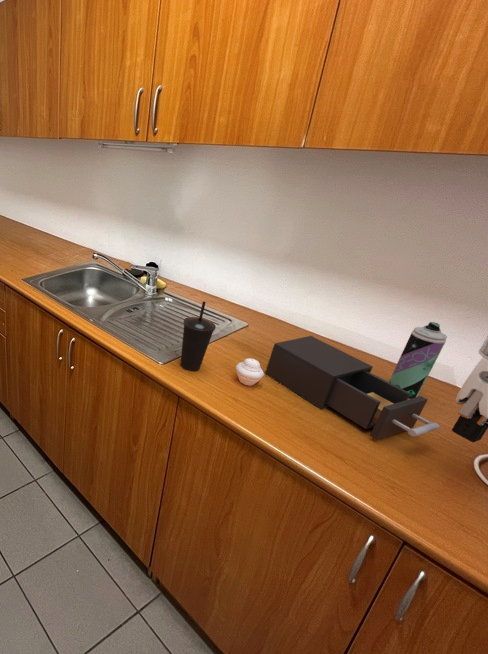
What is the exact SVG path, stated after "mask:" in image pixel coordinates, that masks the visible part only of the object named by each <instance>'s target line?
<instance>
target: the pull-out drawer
mask: <svg viewBox="0 0 488 654" xmlns="http://www.w3.org/2000/svg"><path fill="white" fill-rule="evenodd" d="M372 392H373V393H375V394H377V395H379V396H381V397H382V398H384V399H386V400H388V401H390V402H392V403H394V404H391V405H388V406H384V407H383V409H382V411H381V413H380V415H379V418H378V420H377V422H376V424H374V423H373V422H372V419H373V417H374V415H375V413H376V411H377V409H378V407H379V405H380V401H378V400H376V399H375V398H373V397H371V396H369V395H367V394H368V393H372ZM410 394H411V393H409V392H407V391H405V390H403V389H401V388H399V387H397V386H395V385H393V384H391V383H389V381H387V380H386V379H384V378H381V377H379V376H378V375H376V374H374V373H372V372H368V371H362V372H358V373H354V374H350V375H346V376H342V377H338V378H335V380H334V382H333V385H332V387H331V390H330V392H329V395H328V397H327V400H326V402H325V404H327V405H328V406H330V407H329V408H331V409H333V410H335V411H336V412H338V413H339V414H341V415H343V416H344V417H346V418H347V419H349V420H351V421H352V422H354V423H355V424H357V425H358V426H360V427H362V428H363V429H365V430H367V429H371V428H372V431H371V432H370V434H369V436H370V437H372V438H373V439H375V440H379V439H381V438H385V437H388V436H391V435H394V434H398V433H400V432H401V433H402V432H404V431H406V432H407V434H408V435H409V436H410V437H413V438H415V437H419V436H422V435H425V434H428V433H431V432H434V431H437V430H440V428H441V426H440V424H439V423H437V422H435V421H430V420H427V419H426V418H424V417H423V416H420V415H421V414H422V412H423V410H424V408H425V406H426V404H427V402H428V401H429V400H428V398H426V397H425V396H422V395H420V396H419V395H418V397H416V398H412V399H409V400H408V398H409V396H410ZM417 421H420V422H421V423H423V425H420V426H416V427H415V425H416V424H417Z"/></svg>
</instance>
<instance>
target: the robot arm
mask: <svg viewBox="0 0 488 654" xmlns="http://www.w3.org/2000/svg"><path fill="white" fill-rule="evenodd" d="M478 354H479V355H480V356H481V359H479V361H478V362H477V364H476V365H475V366H474V368H473V369H472V371H471V372H470V374H469V375H468V376H467V378H466V379H465V381H464V383H463V384H462V386H461V387H460V388H459V391H458V393H457V395H456V397H455V403H456V404H457V405H463V406H462V407H461V408H460V410H458V413H457V414H458V415H459V417H458V419H457V420H456V422H455V424H454V425H453V426H452V428H451V431H452V432H453V433H454V434H456V435H458V436H460V437H462V438H463V439H465V440H467V441H469V442H471V443H475V442H479V441H481V439H482V438H483V437H484V435H485V433H486V432H487V430H488V335H487V336H486V338H484V341H483V343H482V344H481V346H480V348H479V349H478Z"/></svg>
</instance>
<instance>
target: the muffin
mask: <svg viewBox="0 0 488 654" xmlns="http://www.w3.org/2000/svg"><path fill="white" fill-rule="evenodd" d="M235 372H236V375H237V378H238V380H239V382H240V383H241V384H242V385H245V386H249V387H250V386H254V385H255V384H257V383H258V382H259V381H261V379H263V378H264V376H265V373H264V370H263V369H262V368H261V364H260V362H259V361H258V360H257V359H256V358H255V359H254V358H252V357H251V358H250V357H248V358H245V359H244V360H243V361H241V362H239V363H237V364H236V366H235Z"/></svg>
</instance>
